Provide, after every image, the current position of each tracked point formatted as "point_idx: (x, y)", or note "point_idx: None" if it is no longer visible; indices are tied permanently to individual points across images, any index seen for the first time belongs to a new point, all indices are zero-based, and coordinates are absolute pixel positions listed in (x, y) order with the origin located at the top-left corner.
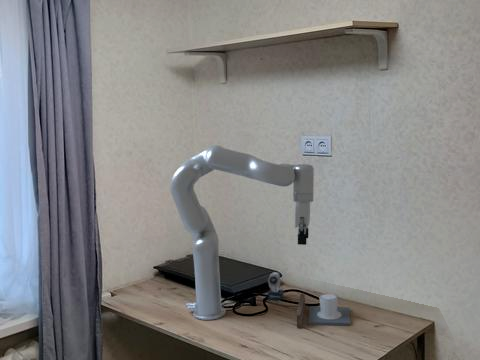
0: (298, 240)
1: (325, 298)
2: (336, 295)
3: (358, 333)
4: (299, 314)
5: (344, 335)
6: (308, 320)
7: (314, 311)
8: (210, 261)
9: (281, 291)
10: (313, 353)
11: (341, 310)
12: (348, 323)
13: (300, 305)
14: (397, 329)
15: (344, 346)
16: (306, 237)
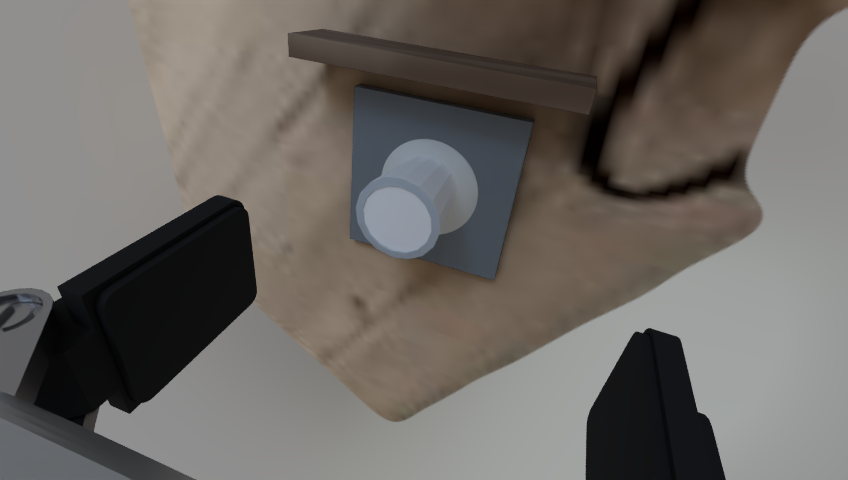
0: (174, 230)
1: (376, 201)
2: (412, 257)
3: (304, 239)
4: (295, 49)
5: (286, 195)
6: (370, 90)
7: (467, 133)
8: None
9: None
10: (157, 72)
11: (466, 244)
12: (350, 232)
13: (403, 66)
14: (338, 340)
15: (218, 176)
16: (596, 411)
